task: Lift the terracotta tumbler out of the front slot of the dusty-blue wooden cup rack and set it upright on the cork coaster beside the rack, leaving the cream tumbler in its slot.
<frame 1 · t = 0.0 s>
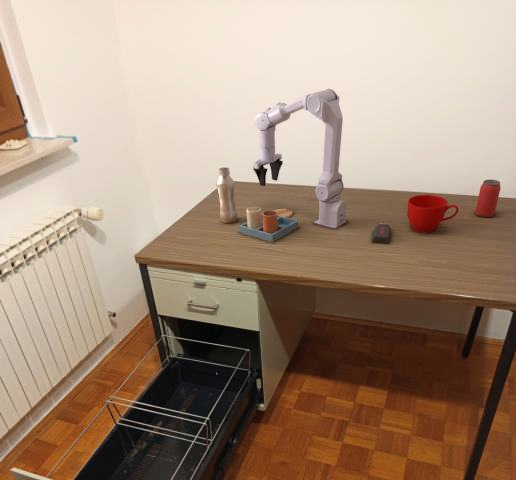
hand: (268, 182, 192), 10 cm above the table, tool pointing down, fingers open, 7 cm apart
ceramic cup: (429, 229, 173), on the table
beer can: (484, 215, 181), on the table
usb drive: (381, 236, 171), on the table
rack: (268, 230, 179), on the table
tumbler: (270, 235, 175), resting on rack
plastic bottle: (229, 222, 188), on the table
coaster: (280, 214, 192), on the table
cream tumbler: (254, 230, 179), resting on rack
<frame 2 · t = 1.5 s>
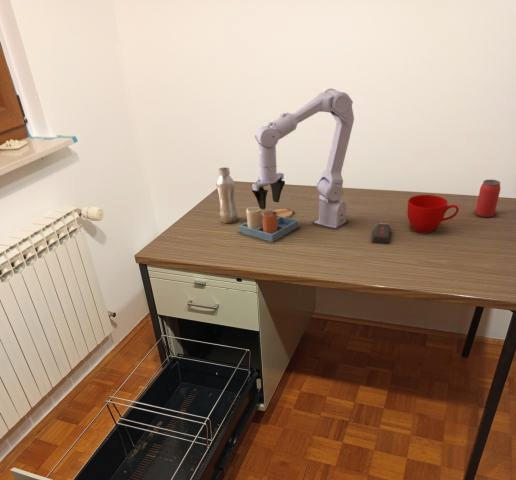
hand: (269, 205, 171), 10 cm above the table, tool pointing down, fingers open, 7 cm apart
nothing on the table moved.
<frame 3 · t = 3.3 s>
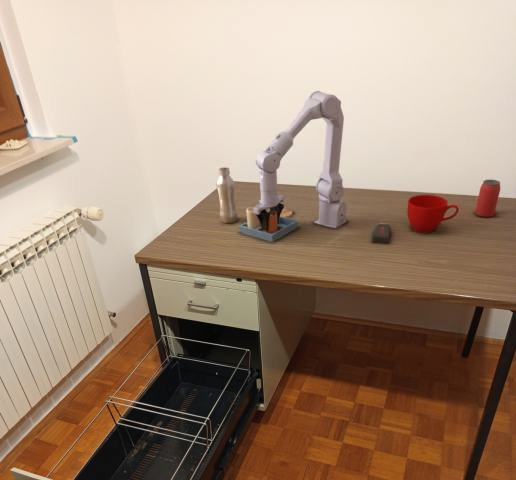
hand: (270, 227, 173), 3 cm above the table, tool pointing down, fingers closed on tumbler, 5 cm apart
tumbler: (270, 235, 175), point 1 cm above the table, touching gripper, rack
everything else where it was.
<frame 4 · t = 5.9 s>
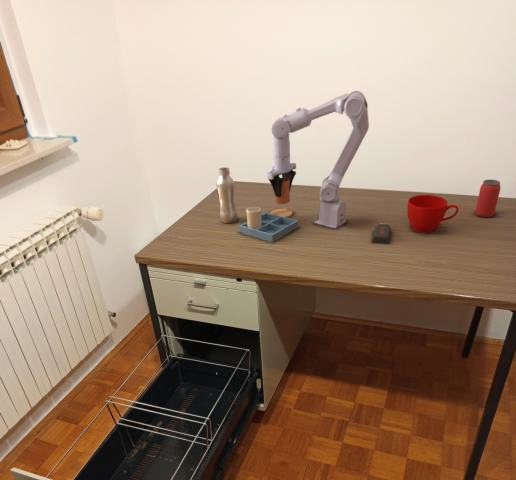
hand: (282, 193, 180), 10 cm above the table, tool pointing down, fingers closed on tumbler, 5 cm apart
tumbler: (282, 201, 182), point 8 cm above the table, touching gripper
everything else where it was.
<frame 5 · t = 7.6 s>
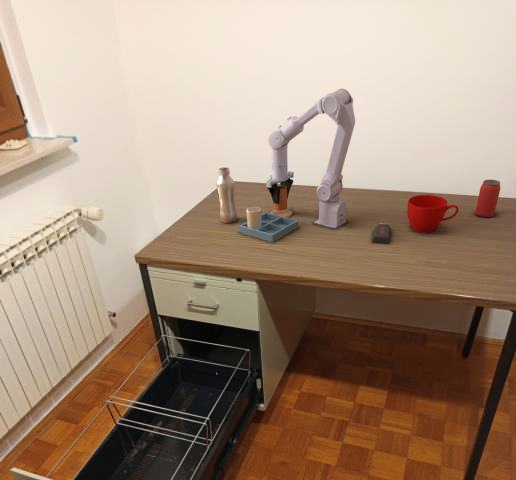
hand: (280, 200, 188), 5 cm above the table, tool pointing down, fingers closed on tumbler, 5 cm apart
tumbler: (280, 208, 190), point 2 cm above the table, touching gripper
everything else where it was.
when the fingers open (3 cm above the table, at t = 8.7 s): tumbler stays where it is, resting on coaster.
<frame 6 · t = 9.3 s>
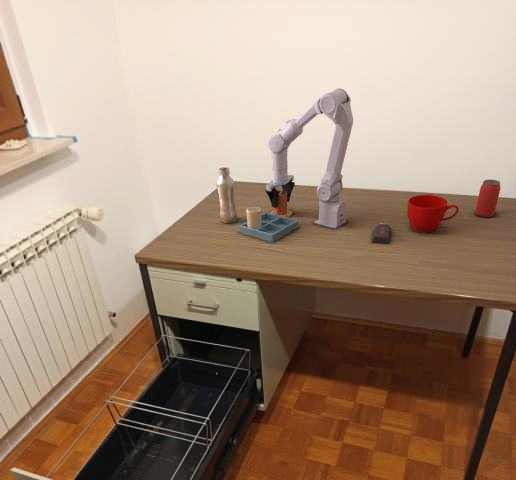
hand: (280, 204, 189), 4 cm above the table, tool pointing down, fingers open, 7 cm apart
tumbler: (280, 212, 191), resting on coaster
everything else where it was.
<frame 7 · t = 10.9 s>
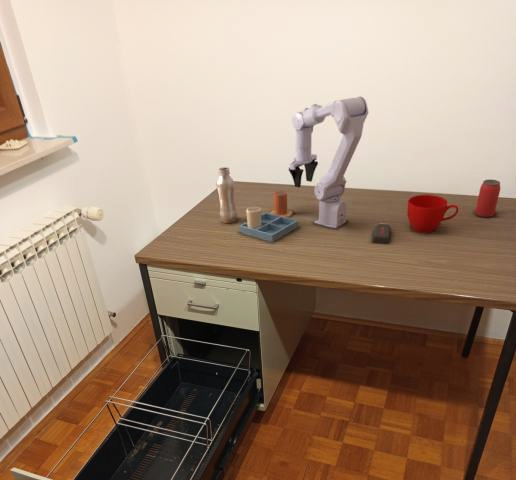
hand: (303, 183, 188), 10 cm above the table, tool pointing down, fingers open, 7 cm apart
nothing on the table moved.
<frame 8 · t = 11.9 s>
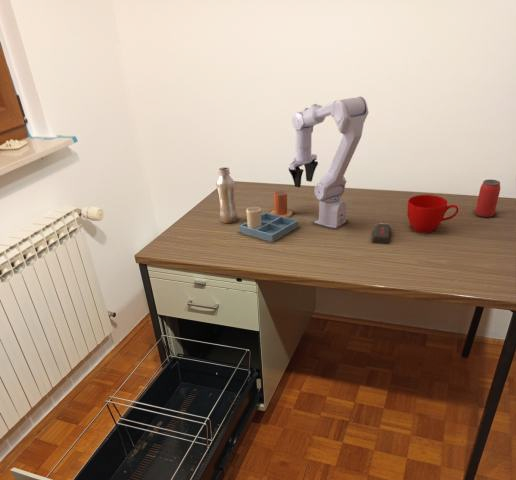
hand: (303, 183, 188), 10 cm above the table, tool pointing down, fingers open, 7 cm apart
nothing on the table moved.
at the end: tumbler 0.1 cm off-centre on the coaster, point 0.5 cm above the coaster's base; tumbler tilted 0°; cream tumbler moved 0.0 cm from its start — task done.
